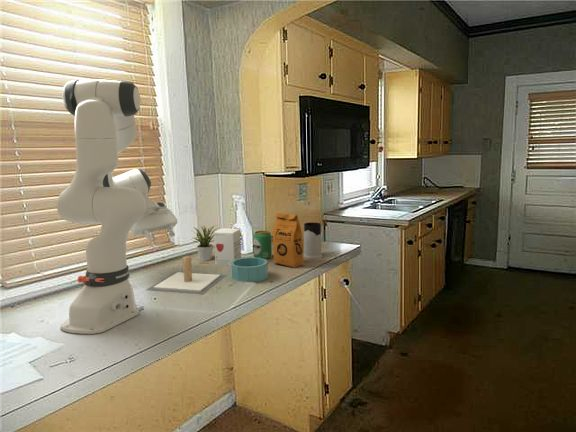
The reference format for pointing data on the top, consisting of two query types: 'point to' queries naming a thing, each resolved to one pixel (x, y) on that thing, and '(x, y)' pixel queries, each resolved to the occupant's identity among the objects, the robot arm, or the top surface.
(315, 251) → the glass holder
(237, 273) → the bowl
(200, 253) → the house plant
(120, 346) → the top surface
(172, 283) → the peg on square base
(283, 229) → the coffee package
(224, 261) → the supplement box
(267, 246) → the beverage can
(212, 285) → the rubber mat
